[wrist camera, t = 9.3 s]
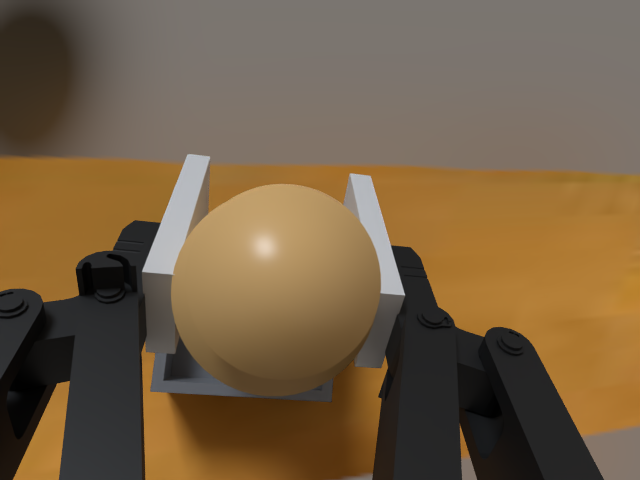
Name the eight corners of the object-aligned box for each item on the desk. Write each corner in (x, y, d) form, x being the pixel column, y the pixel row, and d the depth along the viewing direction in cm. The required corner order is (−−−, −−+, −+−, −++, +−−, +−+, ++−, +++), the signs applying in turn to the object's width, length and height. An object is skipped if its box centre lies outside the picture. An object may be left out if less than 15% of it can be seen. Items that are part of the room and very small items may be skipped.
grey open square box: (163, 382, 27) (150, 391, 23) (183, 228, 28) (174, 212, 24) (318, 392, 28) (331, 402, 24) (329, 243, 29) (343, 230, 26)
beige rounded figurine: (195, 364, 20) (133, 405, 9) (209, 242, 21) (170, 140, 10) (318, 372, 21) (405, 420, 10) (327, 254, 22) (414, 170, 10)
